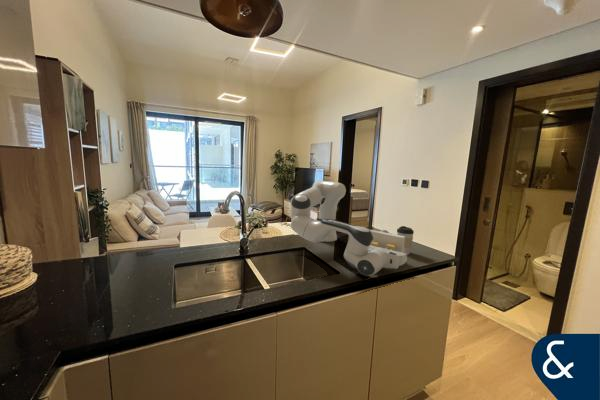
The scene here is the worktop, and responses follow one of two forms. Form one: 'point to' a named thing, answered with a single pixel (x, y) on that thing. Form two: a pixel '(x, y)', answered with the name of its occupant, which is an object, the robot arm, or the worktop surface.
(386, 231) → the donut
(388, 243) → the button right
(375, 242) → the button middle
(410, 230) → the coffee cup
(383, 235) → the button panel
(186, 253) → the worktop surface
